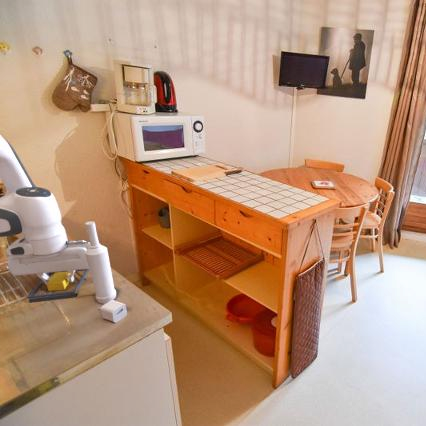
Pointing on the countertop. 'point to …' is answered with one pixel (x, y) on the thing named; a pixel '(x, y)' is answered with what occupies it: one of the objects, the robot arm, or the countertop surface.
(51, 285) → the sponge
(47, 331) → the countertop surface
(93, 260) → the bottle
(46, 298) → the dark grey flat frame
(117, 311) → the usb wall charger
